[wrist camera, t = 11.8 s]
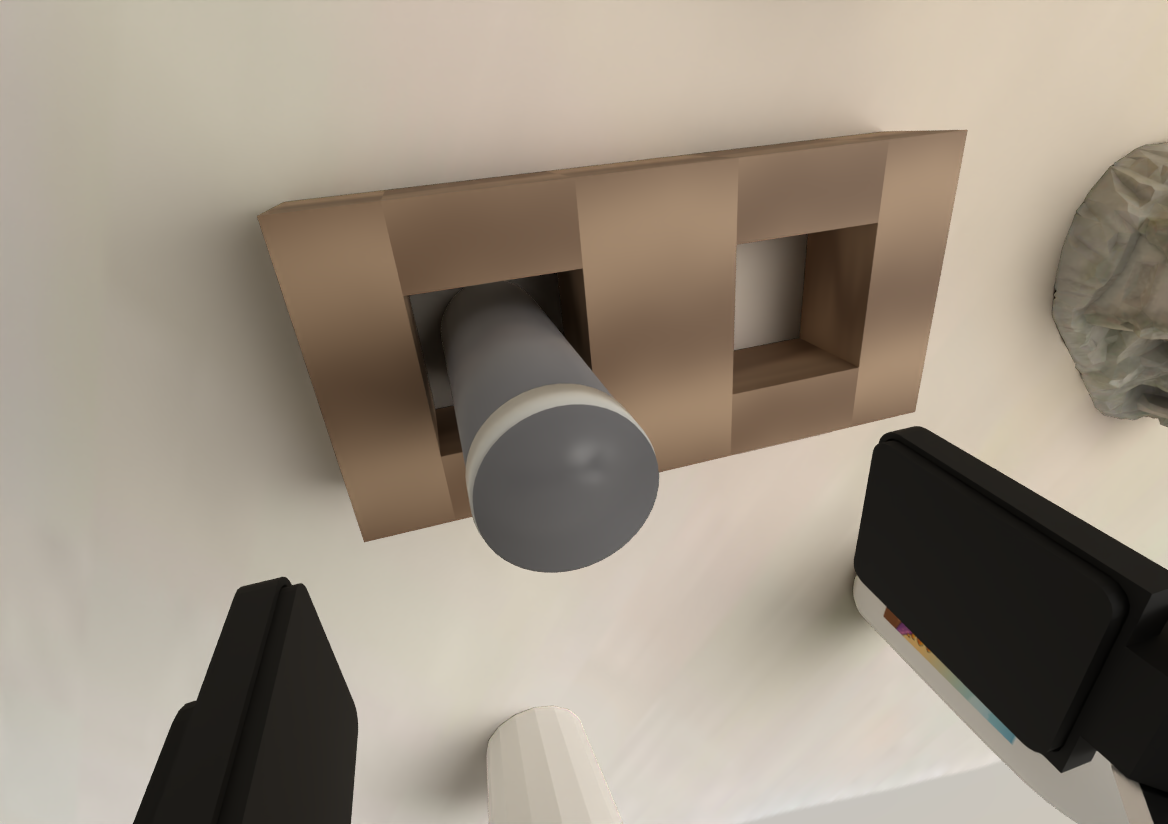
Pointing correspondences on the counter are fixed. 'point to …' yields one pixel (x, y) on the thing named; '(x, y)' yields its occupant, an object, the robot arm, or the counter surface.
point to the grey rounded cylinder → (541, 436)
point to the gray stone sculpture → (1120, 287)
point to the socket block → (625, 299)
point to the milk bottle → (1001, 728)
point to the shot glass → (546, 772)
